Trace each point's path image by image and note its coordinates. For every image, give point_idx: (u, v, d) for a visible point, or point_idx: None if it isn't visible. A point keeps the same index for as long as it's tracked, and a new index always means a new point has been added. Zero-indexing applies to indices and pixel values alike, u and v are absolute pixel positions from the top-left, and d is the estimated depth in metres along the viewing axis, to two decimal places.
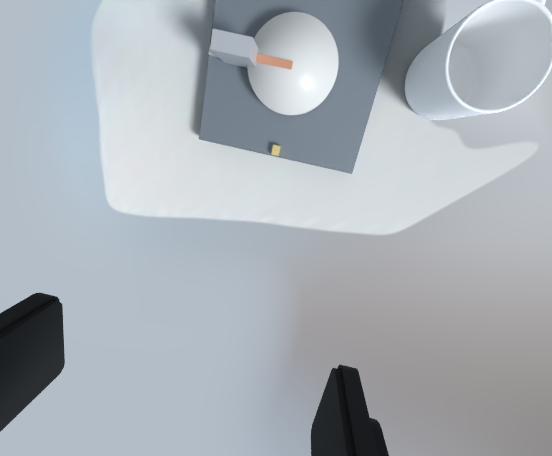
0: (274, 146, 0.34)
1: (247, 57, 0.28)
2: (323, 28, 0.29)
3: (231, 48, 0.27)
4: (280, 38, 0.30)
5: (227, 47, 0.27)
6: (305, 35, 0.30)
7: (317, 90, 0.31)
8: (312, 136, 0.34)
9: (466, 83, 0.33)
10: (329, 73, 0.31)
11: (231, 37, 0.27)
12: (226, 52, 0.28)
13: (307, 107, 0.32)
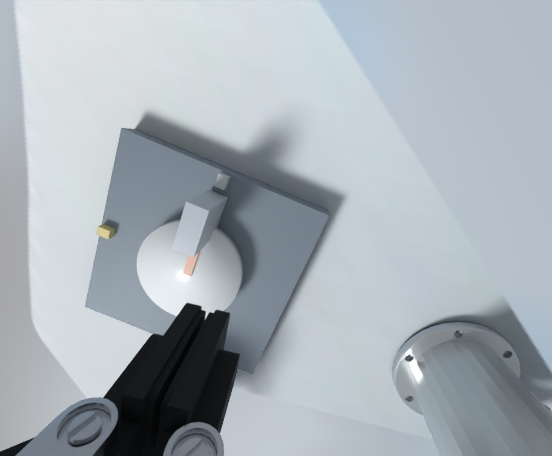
0: (107, 232, 0.27)
1: None
2: None
3: (184, 229, 0.21)
4: (216, 267, 0.26)
5: (185, 224, 0.21)
6: (215, 292, 0.27)
7: (160, 294, 0.27)
8: (124, 273, 0.29)
9: None
10: (176, 308, 0.28)
11: (196, 233, 0.21)
12: (181, 221, 0.21)
13: (143, 281, 0.27)
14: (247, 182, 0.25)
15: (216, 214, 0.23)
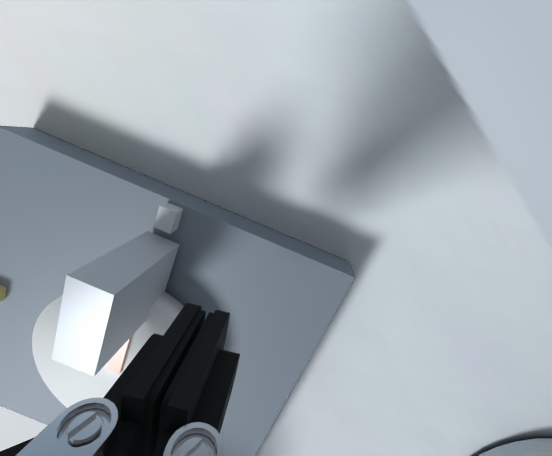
0: None
1: None
2: None
3: (69, 326, 0.10)
4: None
5: (71, 318, 0.10)
6: None
7: (75, 397, 0.17)
8: (27, 353, 0.19)
9: None
10: None
11: (94, 334, 0.10)
12: (63, 311, 0.10)
13: (46, 376, 0.16)
14: (212, 219, 0.14)
15: (151, 281, 0.13)
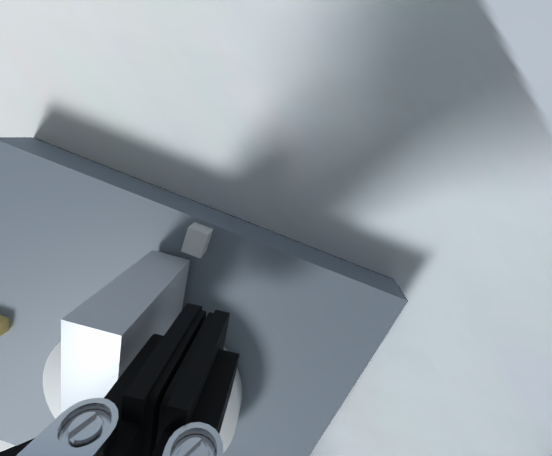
0: None
1: None
2: None
3: (75, 378, 0.09)
4: None
5: (76, 368, 0.09)
6: None
7: None
8: (36, 387, 0.17)
9: None
10: None
11: (105, 383, 0.09)
12: (64, 361, 0.09)
13: None
14: (247, 240, 0.13)
15: (164, 308, 0.11)
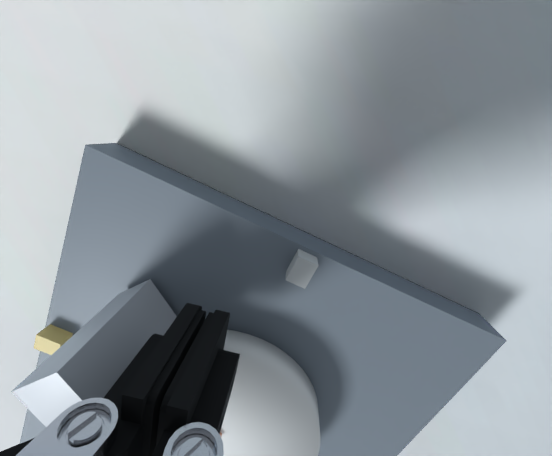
0: (55, 345, 0.14)
1: None
2: (313, 447, 0.13)
3: None
4: (238, 395, 0.12)
5: None
6: (279, 429, 0.13)
7: None
8: None
9: None
10: None
11: None
12: None
13: None
14: (351, 270, 0.12)
15: (136, 331, 0.11)
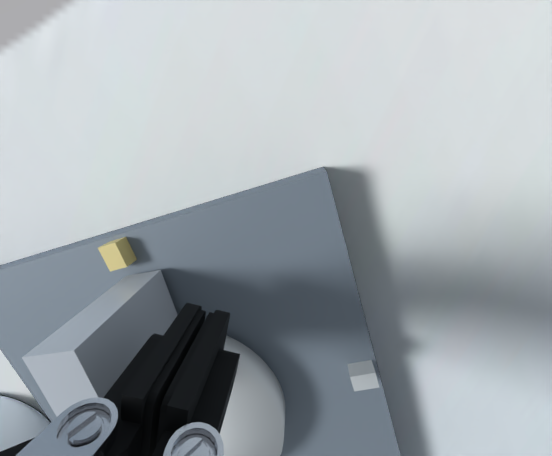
0: (121, 264, 0.12)
1: None
2: None
3: (65, 409, 0.09)
4: None
5: (60, 399, 0.09)
6: (246, 436, 0.14)
7: None
8: None
9: None
10: None
11: None
12: (50, 397, 0.09)
13: None
14: (383, 397, 0.14)
15: (142, 320, 0.11)
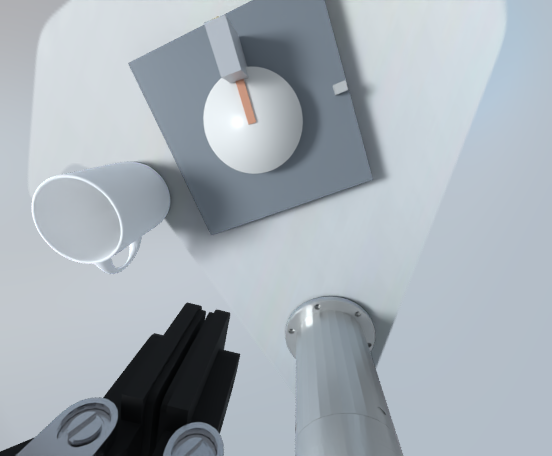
0: None
1: (220, 74, 0.23)
2: (297, 136, 0.28)
3: (218, 50, 0.23)
4: (269, 96, 0.27)
5: (216, 44, 0.23)
6: (284, 121, 0.28)
7: (245, 161, 0.29)
8: (193, 73, 0.28)
9: None
10: (265, 164, 0.29)
11: (228, 44, 0.23)
12: (212, 45, 0.23)
13: (225, 159, 0.29)
14: (352, 106, 0.28)
15: (237, 40, 0.25)
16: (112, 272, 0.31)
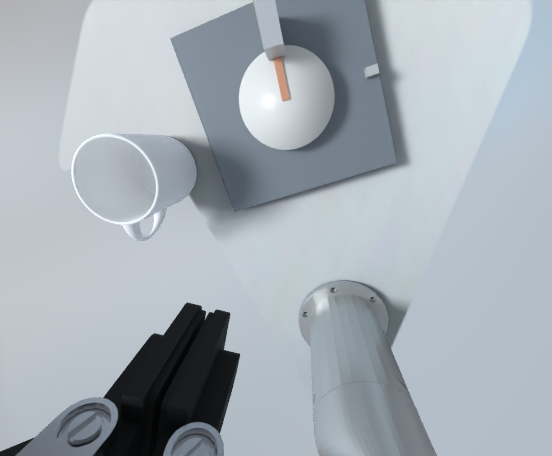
0: None
1: (263, 46, 0.25)
2: (328, 114, 0.29)
3: (263, 23, 0.24)
4: (304, 75, 0.28)
5: (262, 17, 0.24)
6: (316, 100, 0.29)
7: (276, 137, 0.30)
8: (232, 50, 0.30)
9: (147, 179, 0.37)
10: (294, 140, 0.30)
11: (274, 18, 0.24)
12: (257, 19, 0.24)
13: (257, 134, 0.30)
14: (381, 90, 0.30)
15: None
16: (139, 239, 0.31)
